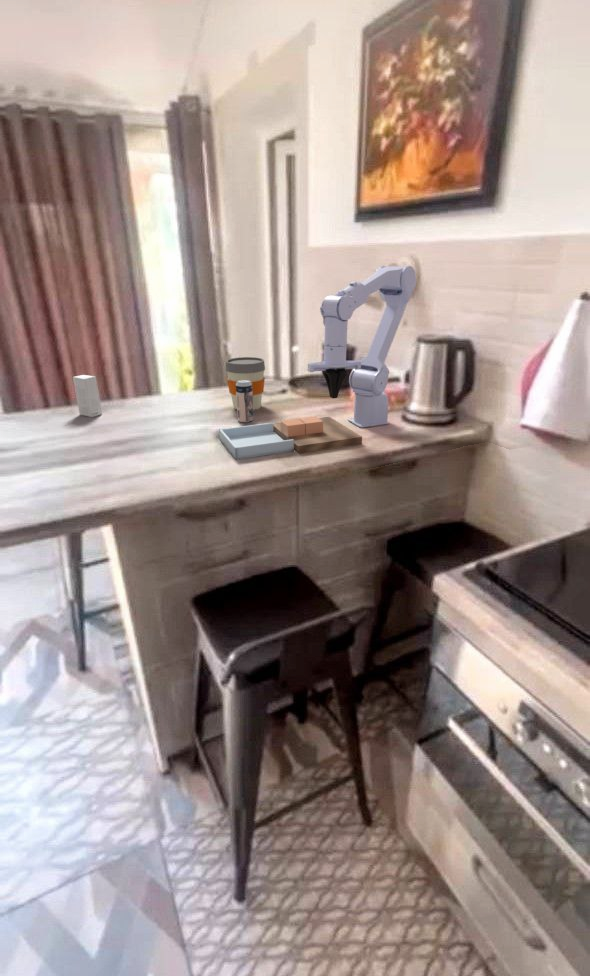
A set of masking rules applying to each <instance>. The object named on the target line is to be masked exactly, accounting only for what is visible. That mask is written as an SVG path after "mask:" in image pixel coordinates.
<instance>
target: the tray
mask: <svg viewBox="0 0 590 976" xmlns="http://www.w3.org/2000/svg"><path fill="white" fill-rule="evenodd" d="M273 424H274V422H266V423H258V424H250V425H249V424H248V425H242V426H234V427H227V428H219V429H218V435H219V440H220V442H221V444H223V446H224V447H225V448H226V450H227V451H228V452H229V454H230V455H232V457H233V458H234V459H235V460H243V458H244V459H249V458H250V457H251V458H256V457H257V456H258V457H262V456H270V455H278V454H283V453H284V452H285V453H289V452H290V453H291V451H292V452H295V451H294V440H293V439H291V440H283V439H282V438H281V437H279V436H278V435H277V434H276V433H275V432H274V429H273ZM277 453H278V454H277ZM285 453H284V454H285Z"/></svg>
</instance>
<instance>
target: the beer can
mask: <svg viewBox="0 0 590 976" xmlns="http://www.w3.org/2000/svg"><path fill="white" fill-rule="evenodd" d="M236 399H237V410H236V412H237V413H236V414H237V421H238V422H240V423H243V422H248V423H251V422H252V421H253V420H254V417H255V415H254V410H253V391H252V383H251V381H250V380H238V381H237V383H236ZM250 421H251V422H250Z"/></svg>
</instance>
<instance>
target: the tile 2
mask: <svg viewBox="0 0 590 976" xmlns="http://www.w3.org/2000/svg"><path fill="white" fill-rule="evenodd" d="M319 418H320V417H318V416H308V417H300V418H299V417H298V419H299V420H301V421H302V422H304V423H305V434H314V433H321V432H323V421H322V420H320V419H319Z"/></svg>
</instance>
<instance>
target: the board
mask: <svg viewBox="0 0 590 976" xmlns="http://www.w3.org/2000/svg"><path fill="white" fill-rule="evenodd" d="M318 418H319V419H320V420H322V421H323V432H321V433H314V434H305V435H299V436H291V437H287V436H286V435H285V434H283V433H282V432H281V422H276V423H273V429H274V432H275V433H276V434H277V435H278V436H279V437H281V438H282V439H283V440H291V439H293V440H294V450H295V451H294V452H295V453H297V454H298V453H299V454H304V453H310V452H311V453H312V452H318V451H323V450H324V451H325V450H331V449H338V448H343V447H345V448H346V447H350V446H352V447H353V446H358V445H362V444H363V436H361V435H360V434H359V433H357V432H355V431H353V429H350V428H348V427H347V426H346V425H343V424H342V423H340V422H339V421H337V420H336V419H334V418H333V417H331V416H324V417H318Z"/></svg>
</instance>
